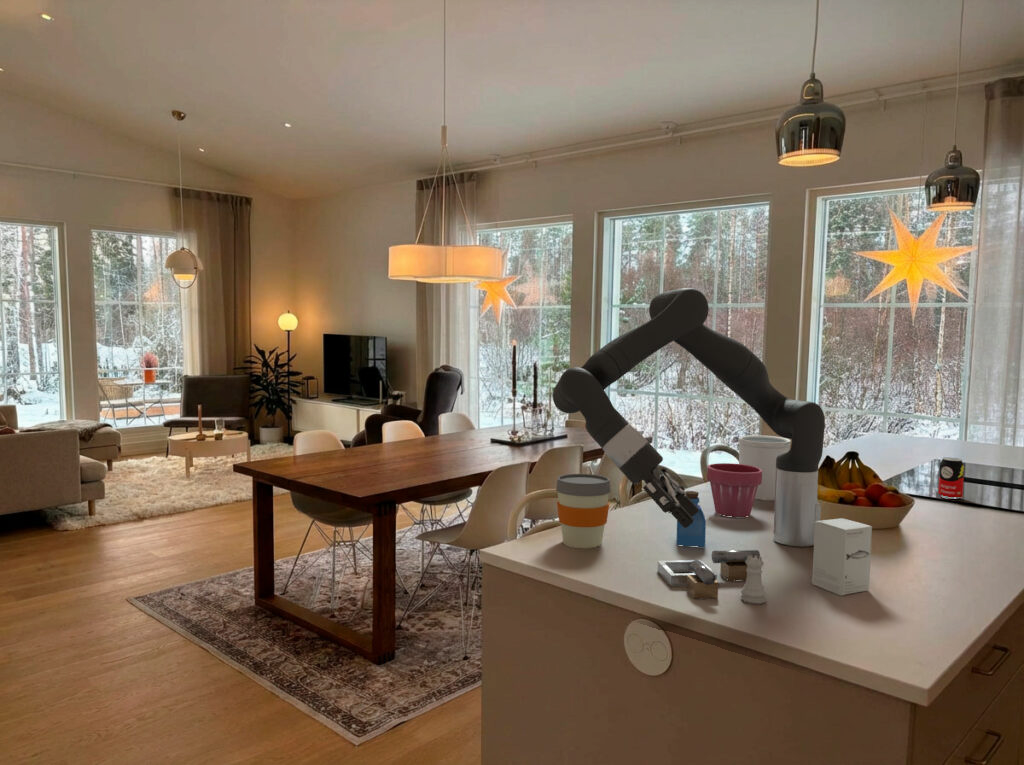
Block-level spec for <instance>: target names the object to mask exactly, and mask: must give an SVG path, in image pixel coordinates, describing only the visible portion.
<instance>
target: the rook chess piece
mask: <svg viewBox="0 0 1024 765" xmlns="http://www.w3.org/2000/svg"><path fill="white" fill-rule="evenodd" d="M745 562H746V564H747V566H748V568H747V569H746V571H747V579H746V581H745V584H744V585H743V588H742V589H741V591H740V593H741V595H740V598H741V600H742V601H743V602H744V601H745V603H746V602H747V603H746V604H751V605H763V604H764V603H765V602H766V601H767V598H766V596H767V593H766V591H765V590H764V586H763V582H762V581H763V580H762V573H763V570H762V567H763V566H764V564H765V563H764V561H763V558H762V556H761V555H760V556H759V559H758V558H757V556H756V555H755V558H752V555H749V556H747V560H746V561H745Z"/></svg>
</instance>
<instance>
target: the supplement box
mask: <svg viewBox="0 0 1024 765" xmlns="http://www.w3.org/2000/svg"><path fill="white" fill-rule="evenodd" d="M872 530H873V526H872V525H869V524H865V523H862V522H857V521H855V520H850V519H847V518H842V517H841V518H840V517H839V518H833V519H822V520H821V519H820V521H815V530H814V545H813V553H812V554H813V556H812V558H813V561H812V580H811V584H812V585H815V586H817V587H819V588H821V589H823V590H826V591H827V592H831V593H834V594H836V595H838V596H841V597H842V596H845V595H849V594H855V593H861V592H868V591H869V590H870V575H871V556H872V555H871V554H872V534H873V533H872Z"/></svg>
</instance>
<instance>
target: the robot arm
mask: <svg viewBox="0 0 1024 765" xmlns="http://www.w3.org/2000/svg"><path fill="white" fill-rule="evenodd" d="M648 308H649V310H648V312H649V317H650V320H648V321H646V322H644V323H643V324H641V325H639V326H637V327H635V328H633V329H631V330H629V331H627V332H625V333H623V334H621V335H619V336H617V337H616V338H614V339H612V340H611V341H609V342H608V343H607V344H605V345H604V346H603V347H601V348H600V349H598V350H597V351H595V352H594V353H593V354H592V355H591V356H590V357H589V358H588V359H587V361H585V362H584V364H583V365H582V366H581V367H578V366H576V367H570V368H567V369H566V370H565V371H564V372H563V373H562V375H561V376H560V378H559V379H558V381H557V383H556V384H555V386H554V388H553V391H552V402H553V404H554V405H555V407H556V408H557V410H558V411H560V412H562V413H565V414H576V413H579V412H580V413H581V415H582V416H583V417H584V420H585V422H584V423H585V425H584V427H585V429H586V432H587V434H588V435H590V437H591V438H592V439H593V440H594V442H596V443H597V445H598V446H600V448H601V449H602V450H603V451H604V453H605V454H606V456H607V458H609V459H610V461H611V462H612V463H613V464H614V465H615V466H616V468H618V469H619V471H621V473H623V475H624V476H625V477H626V478H627V479H628V481H630V483H631V484H633V485H634V486H635V485H638V484H639V483H640V482H642V481H644V483H645V485H644V486H643V487H642V488H643V491H644V492H646V494H647V495H648V496H649V497H650V498H651V499H652V500H653V502H654V503H655V504H656V506H658V507H659V508H660V509H661V511H662V512H664V513H665V514H667V513H668V514H671V515H672V516H673V517H674V518H675V520H676V522H677V521H678V522H679V523H680V524H681V525H682V526H683V527H684V528H687V527H688V526H689V525H691V524H692V523H693V521H694V520H693V518H692V517H693V516H694V515H695V514H696V513H697V512H698V511H699V509H698V508H697V507H696V505H695V504H694V503H693V502H692V501H691V500H690V499H689V498H688V497H687V496H685V495H686V493H685V492H686V491H685V490H686V489H685V487H684V485H682V484H681V483H680V482H679V481H678V480H677V479H676V478H675V477H674V476H673V474H671V473H670V471H668V470H667V468H666V467H662V468H661V469H660V468H659V467H658V466H659V465H660V464H661V463H662V462H663V461H664V457H663V456H662V455H661V454H660V453H659V452H658V451H657V450H656V449H655V448H654V446H653V445H652V444H651V443H650V442H649V441H648V440H647V439H646V438H645V437H644V436H643V435H642V434H641V432H639V430H637V428H635V427H634V426H632V425H631V424H630V423H629V421H627V420H626V418H625V417H624V416H623V415H622V414H621V413H620V412H619V411H618V410H617V409H616V408H615V407H614V405H613V403H612V402H611V399H610V397H609V396H608V395H607V393H606V391H605V390H606V389H607V388H608V387H609V386H611V385H612V384H614V383H615V382H617V381H618V380H620V379H621V378H622V377H624V376H625V375H626V374H627V373H629V372H630V371H631V370H633V369H634V368H635V367H636V366H638V365H639V364H641V362H643V361H645V360H646V359H647V358H649V357H650V356H652V355H654V353H656V352H657V351H659V350H661V349H662V348H664V347H665V346H667V345H669V344H671V343H672V342H674V343H676V344H677V345H678V346H680V347H681V348H683V349H684V350H685V351H687V352H688V353H690V354H691V355H692V356H693V357H694V358H695V359H696V360H697V361H698V362H699V363H700V364H702V365H703V366H704V367H705V368H706V369H708V370H709V371H710V372H711V373H712V374H713V375H714V376H715V377H716V378H717V379H718V380H719V381H720V382H722V383H723V384H724V385H725V386H726V387H727V388H728V389H729V390H731V391H732V392H733V393H735V395H737V396H738V397H739V398H740V399H741V400H742V401H744V402H745V403H746V404H747V405H748V406H749V407H751V408H752V409H753V411H754V412H756V413H757V415H759V416H760V418H761V419H762V420H763V422H765V424H766V425H767V426H768V428H770V429H771V430H772V431H773V432H774V433H775V434H776V435H777V436H778V437H782V438H787V439H789V440H791V444H790V447H789V451H788V452H787V453H784V454H780V455H778V456H777V458H776V480H775V500H774V516H773V541H774V542H776V543H778V544H781V545H785V546H790V547H791V546H792V547H812V546H814V530H815V521H821V512H822V511H821V510H822V509H821V508H822V506H821V503H820V502H818V488H819V486H818V485H819V484H818V482H819V465H820V461H821V460H822V456H823V451H824V439H825V438H824V437H825V430H826V429H825V427H826V424H825V423H826V420H825V419H826V418H825V414H824V410H823V408H822V407H821V406H820V405H819V404H818V403H816V402H813V401H808V400H806V401H805V400H798V399H791V398H789V397H787V396H785V395H784V394H782V393H781V392H780V391H779V390H778V389H776V388H775V387H774V385H772V384H771V382H770V379H769V374H768V371H767V367H766V366H765V364H764V363H763V361H762V360H761V359H760V357H758V356H757V355H756V354H755V353H754V352H753V351H751V349H749V347H747V346H746V345H744V344H743V343H742V342H740V341H739V340H736V339H733V338H732V337H729V336H727V335H726V334H723V333H721V332H718V331H716V330H713V329H712V328H710V327H708V326H706V325H705V322H706V321H707V319H708V315H709V311H710V310H709V302H708V300H707V298H706V296H705V295H704V294H703V292H701V291H700V290H698V289H696V288H691V287H682V288H678V289H672V290H668V291H665V292H661V293H659V294H657V295H655V296H654V297H653V298H652V299H651V301H650V304H649V307H648Z"/></svg>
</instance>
